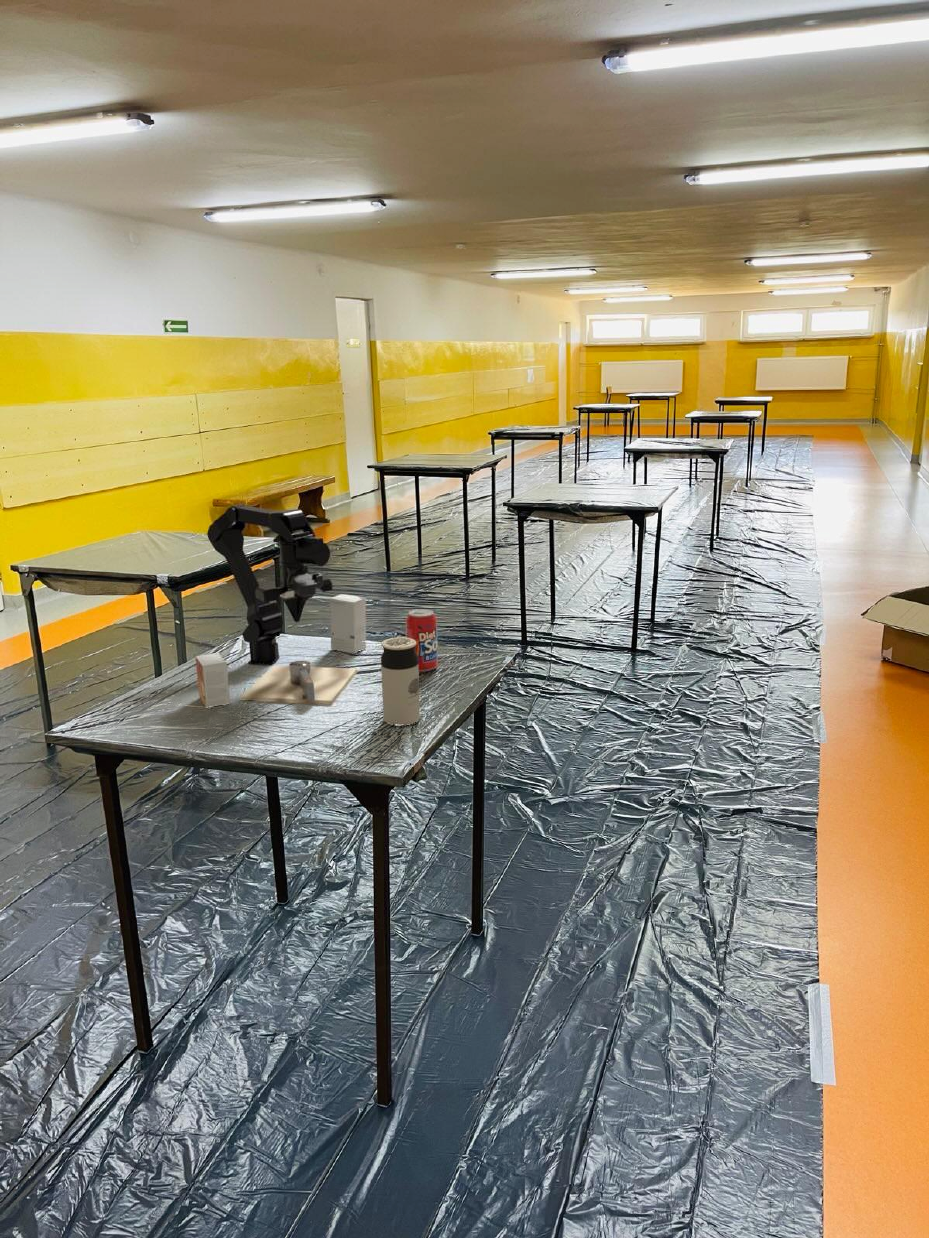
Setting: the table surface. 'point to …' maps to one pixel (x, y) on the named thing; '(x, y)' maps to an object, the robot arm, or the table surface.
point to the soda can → (423, 637)
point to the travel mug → (400, 681)
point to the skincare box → (348, 623)
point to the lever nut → (302, 677)
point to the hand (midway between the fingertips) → (296, 621)
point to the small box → (212, 679)
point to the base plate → (281, 689)
